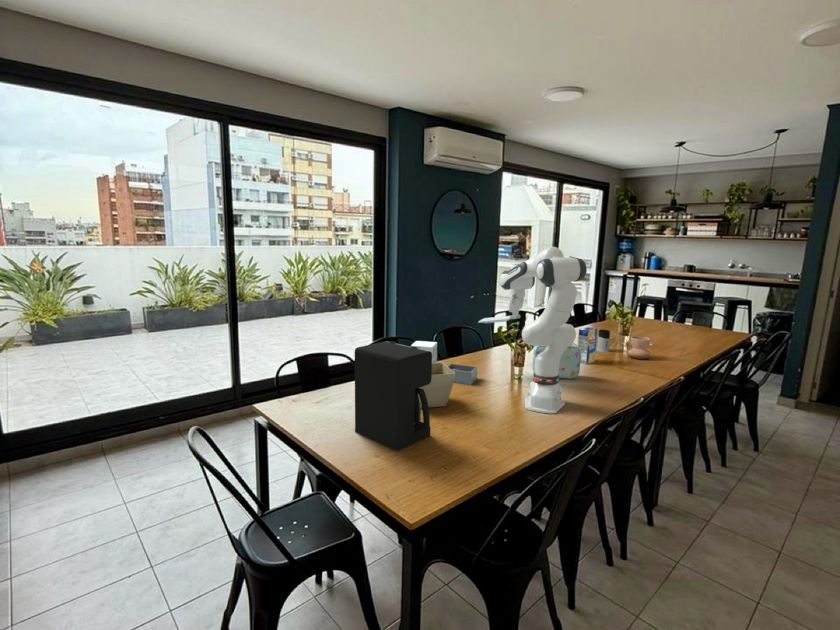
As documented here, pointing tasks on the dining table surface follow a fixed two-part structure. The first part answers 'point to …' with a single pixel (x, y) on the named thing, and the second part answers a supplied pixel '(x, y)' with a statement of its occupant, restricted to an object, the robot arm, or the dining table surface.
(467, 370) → the tub
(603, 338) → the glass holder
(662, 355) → the dining table surface
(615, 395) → the dining table surface
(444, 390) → the flower pot
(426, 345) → the supplement box
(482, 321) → the lid
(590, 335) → the beverage box
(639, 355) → the ceramic jug
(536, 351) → the lunch box
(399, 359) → the coffee maker
